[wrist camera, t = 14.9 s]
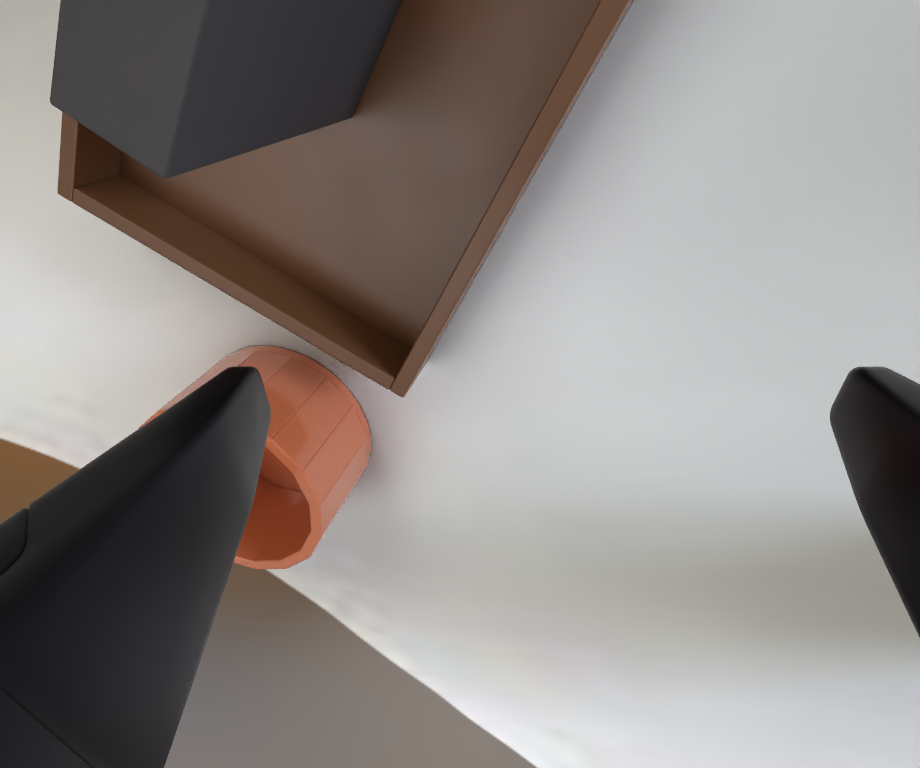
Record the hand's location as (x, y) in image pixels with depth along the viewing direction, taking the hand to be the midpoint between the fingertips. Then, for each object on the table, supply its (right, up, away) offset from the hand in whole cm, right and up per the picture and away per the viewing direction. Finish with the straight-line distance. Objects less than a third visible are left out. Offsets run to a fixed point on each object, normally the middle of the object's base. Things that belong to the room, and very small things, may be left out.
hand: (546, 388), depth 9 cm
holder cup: (-9, -2, +18) cm, 21 cm away
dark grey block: (-5, +11, +8) cm, 15 cm away
